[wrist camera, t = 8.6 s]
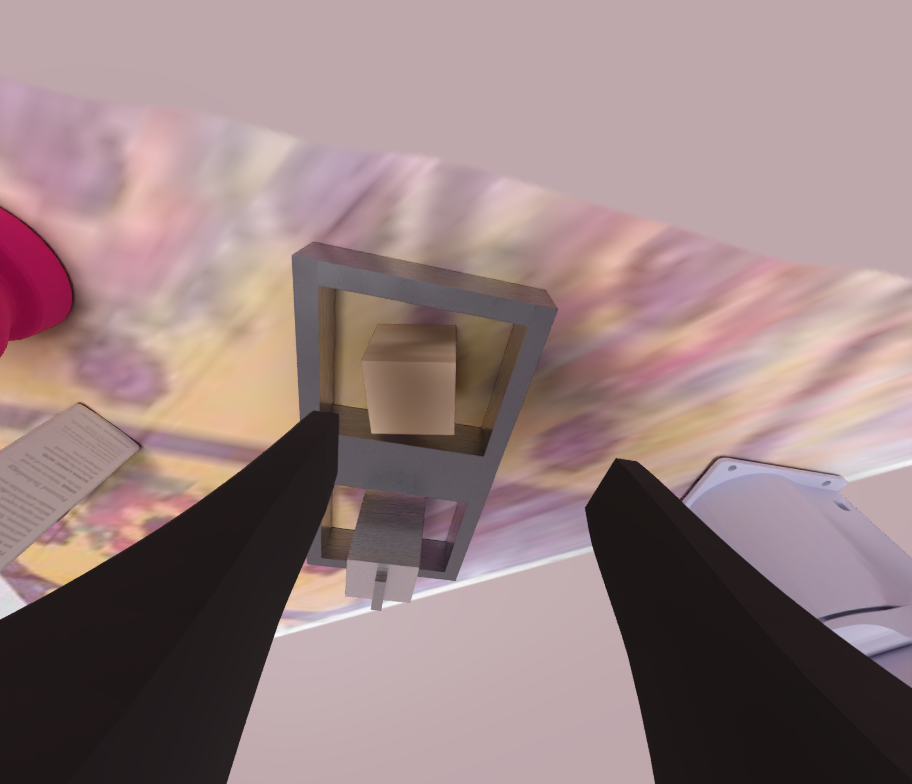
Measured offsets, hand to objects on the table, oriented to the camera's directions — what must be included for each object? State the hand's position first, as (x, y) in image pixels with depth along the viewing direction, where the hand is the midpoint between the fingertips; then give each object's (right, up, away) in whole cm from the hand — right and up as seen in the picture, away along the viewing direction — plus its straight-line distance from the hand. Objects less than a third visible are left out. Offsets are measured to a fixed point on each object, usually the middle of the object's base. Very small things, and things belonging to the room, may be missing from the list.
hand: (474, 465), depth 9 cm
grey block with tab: (-5, -6, +17) cm, 18 cm away
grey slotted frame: (-4, -1, +13) cm, 14 cm away
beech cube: (-3, +4, +10) cm, 11 cm away
